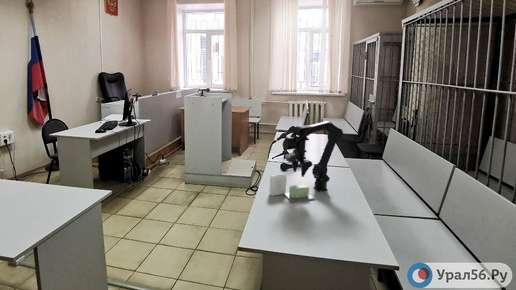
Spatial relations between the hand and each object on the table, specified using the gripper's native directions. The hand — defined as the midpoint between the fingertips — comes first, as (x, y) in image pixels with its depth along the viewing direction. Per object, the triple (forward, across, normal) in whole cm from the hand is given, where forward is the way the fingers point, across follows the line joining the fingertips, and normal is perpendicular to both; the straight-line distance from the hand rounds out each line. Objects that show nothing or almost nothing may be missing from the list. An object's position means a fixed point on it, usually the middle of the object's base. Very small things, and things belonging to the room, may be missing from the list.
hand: (298, 174), depth 191 cm
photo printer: (+12, -3, -12) cm, 17 cm away
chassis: (+12, +6, -2) cm, 13 cm away
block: (+11, +6, -2) cm, 12 cm away
